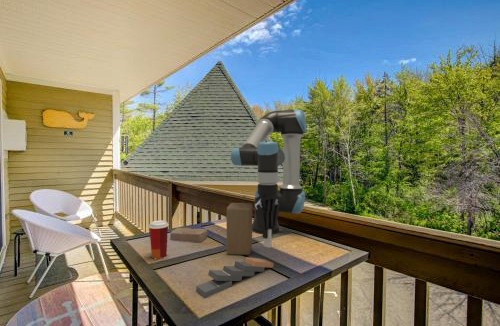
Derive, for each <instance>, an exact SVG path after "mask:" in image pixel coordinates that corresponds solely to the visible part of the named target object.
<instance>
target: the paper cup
mask: <svg viewBox="0 0 500 326" xmlns="http://www.w3.org/2000/svg"><path fill="white" fill-rule="evenodd" d="M169 225H170V224H169V223H168V221H167V220H163V219H162V220H154V221H151V222H150V223H149V224H148V228H149V239H150V250H151V251H150V252H151V258H152V259H153V258H156V259H155V260H161V259H160V258H162V259H165V258H166V257H167V252H168V249H167V248H168V235H169V234H168V232H169V231H168V228H169V227H168V226H169ZM164 257H165V258H164Z"/></svg>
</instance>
